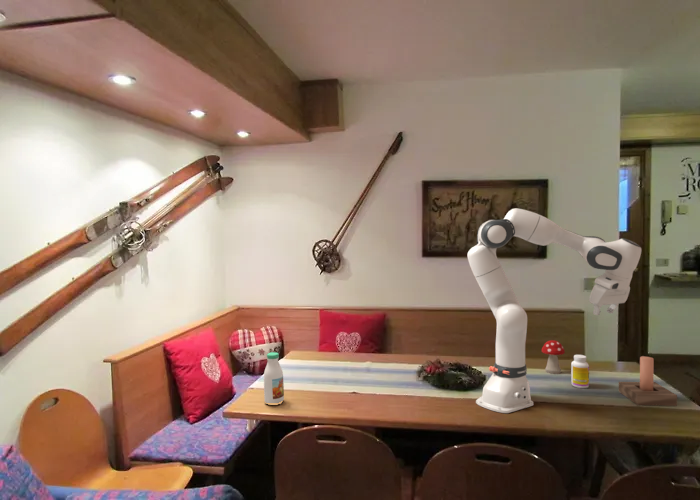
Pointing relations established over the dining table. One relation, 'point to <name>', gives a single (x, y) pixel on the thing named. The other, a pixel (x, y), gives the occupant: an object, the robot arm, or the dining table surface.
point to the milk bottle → (273, 380)
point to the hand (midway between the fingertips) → (602, 313)
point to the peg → (646, 373)
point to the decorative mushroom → (553, 356)
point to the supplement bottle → (580, 372)
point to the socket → (648, 394)
